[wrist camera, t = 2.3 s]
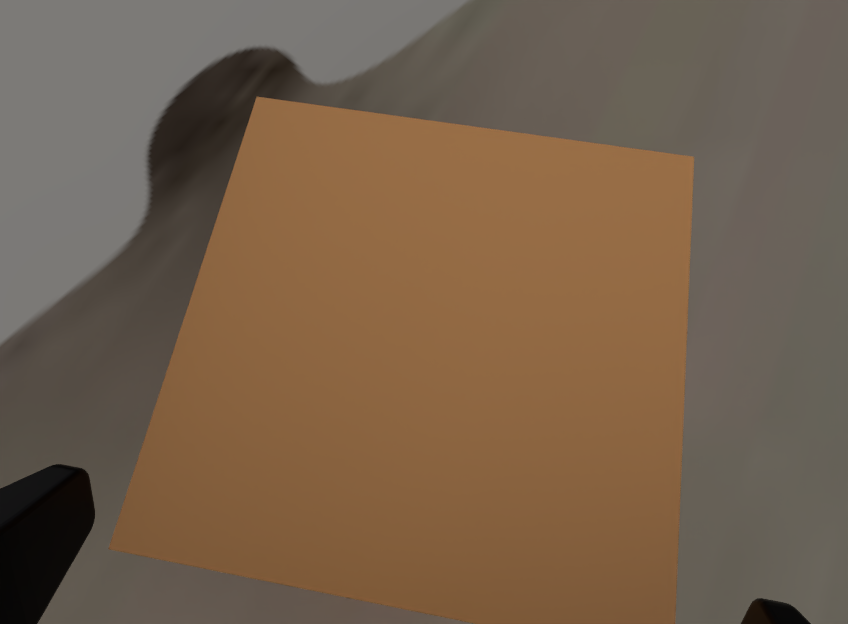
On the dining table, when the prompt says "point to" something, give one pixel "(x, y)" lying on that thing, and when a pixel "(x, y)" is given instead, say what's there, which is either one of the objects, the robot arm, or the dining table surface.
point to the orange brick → (431, 373)
